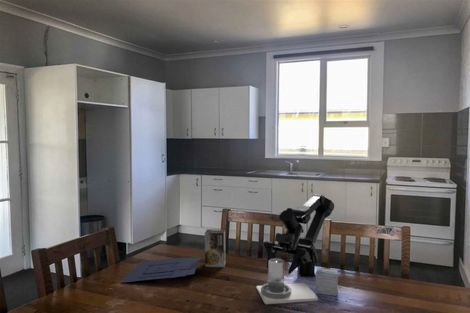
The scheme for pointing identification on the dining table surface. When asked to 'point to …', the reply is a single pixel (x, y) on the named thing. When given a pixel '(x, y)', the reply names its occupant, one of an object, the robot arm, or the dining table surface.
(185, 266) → the papers
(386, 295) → the dining table surface
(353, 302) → the dining table surface
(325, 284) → the medicine box
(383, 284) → the dining table surface
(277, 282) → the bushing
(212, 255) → the coffee box
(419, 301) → the dining table surface
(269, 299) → the locating plate
